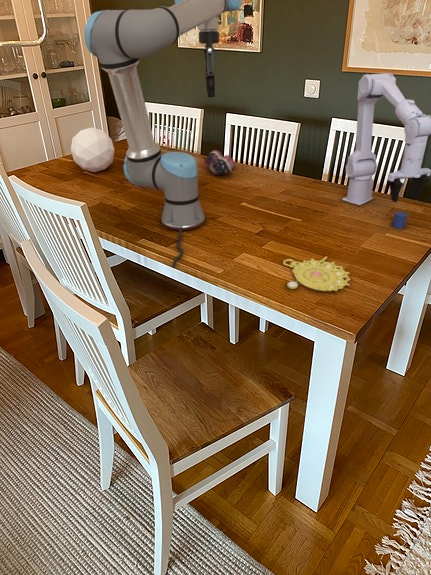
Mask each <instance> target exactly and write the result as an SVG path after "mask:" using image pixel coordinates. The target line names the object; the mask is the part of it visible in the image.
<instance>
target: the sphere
mask: <svg viewBox="0 0 431 575" xmlns="http://www.w3.org/2000/svg"><path fill="white" fill-rule="evenodd" d="M70 151H71V155H72V158H73V161H74V163H75V164H77V165H78V166H79V167H80V168H81V169H82V170H84V171H88V172H91V173H97V172H101V171H104V170H106V169H107V168H108V167H109V166H110V165H111V164H112V163H113V161H114V155H115V146H114V143H113V140H112V138H111V137H110V136H109V135H108V134H107V133H106V132H105V130H102V129H100V128H95V127H92V126H91V127H88V128H84V129H81V130H80V131H78V132H77V133H76V134H75V135H74V136H73V137H72V139H71V145H70Z"/></svg>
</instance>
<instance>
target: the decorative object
mask: <svg viewBox="0 0 431 575" xmlns="http://www.w3.org/2000/svg"><path fill="white" fill-rule="evenodd" d="M327 259H328V256H326V255H325V256H324V257H323V258H322V259H320V260H315V259H314V258H312V257H311V258H310V260H302V261H303V262H301V261H295V260H294V259H291V258H285V260H283V262H282V264H283V265H284V266H286V267H289V268H292V269H291V272H292V274H293V275H294V278H295V281H292V280H290V281H288V282H287V283H286V286H287V288H288V289H291V290H295V289H298V287H299V284H301V285H303V286H304V287H306V288H309V289H311V290H315V291H321V292H332V291H335V292H338V290H343V288H344V287H346V286H348V287H349V286H350V283H348V282H349V281H351V278H350V277H349V275H350V274H351V272H349V271H345V270H344V267H343V266H341V265H340V266H339V265H338V264H336V262H335V261H332V262H329V261H326V260H327ZM286 262H290V264H287V263H286Z"/></svg>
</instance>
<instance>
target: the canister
mask: <svg viewBox="0 0 431 575" xmlns="http://www.w3.org/2000/svg"><path fill="white" fill-rule="evenodd" d="M407 217H408V213H407V212H405V211H396V212H394V216H393V222H392V224H391V226H392V227H393V228H394V229H400V230H401V229H405V227H406V223H407Z"/></svg>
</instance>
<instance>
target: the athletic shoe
mask: <svg viewBox="0 0 431 575" xmlns="http://www.w3.org/2000/svg"><path fill="white" fill-rule="evenodd" d="M203 162H204V164H205V165H204V164H202V165H201V167H203V168H206V169H208V171H209V172H210V173H211V175H215V176H223V175H226V174H229V173H232V172H235V171H236V170H237V169H236V165H235V162H234V159H233V158H232V157H231V155H227V154H226V155H224V154H222V152H221V151H220V150H218V149H213V150H212V151H210V152H209V154H207V156H206V157H204V158H203Z"/></svg>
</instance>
